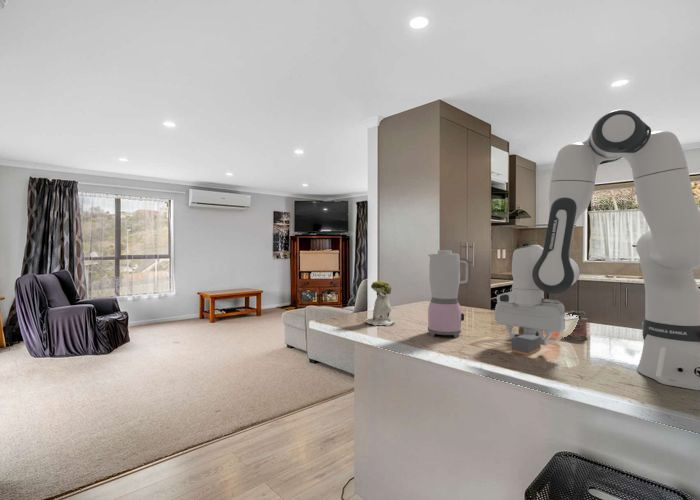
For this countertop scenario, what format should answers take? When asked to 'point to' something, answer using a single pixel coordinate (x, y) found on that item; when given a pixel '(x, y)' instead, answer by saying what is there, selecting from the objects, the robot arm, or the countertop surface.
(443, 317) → the blender
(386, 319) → the stone planter with plant
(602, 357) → the countertop surface
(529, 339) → the block
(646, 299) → the robot arm
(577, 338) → the maroon upright canister
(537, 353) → the oak board
